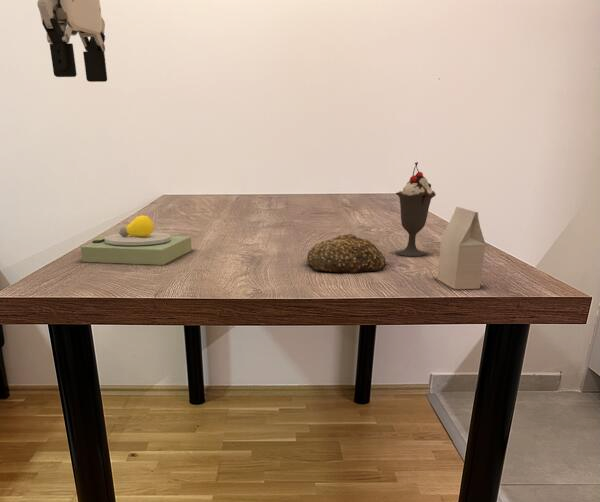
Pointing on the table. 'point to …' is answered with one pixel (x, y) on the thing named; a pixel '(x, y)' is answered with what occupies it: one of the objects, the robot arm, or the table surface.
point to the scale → (136, 249)
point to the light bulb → (138, 227)
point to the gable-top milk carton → (462, 251)
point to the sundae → (414, 209)
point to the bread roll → (345, 255)
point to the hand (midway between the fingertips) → (82, 79)
